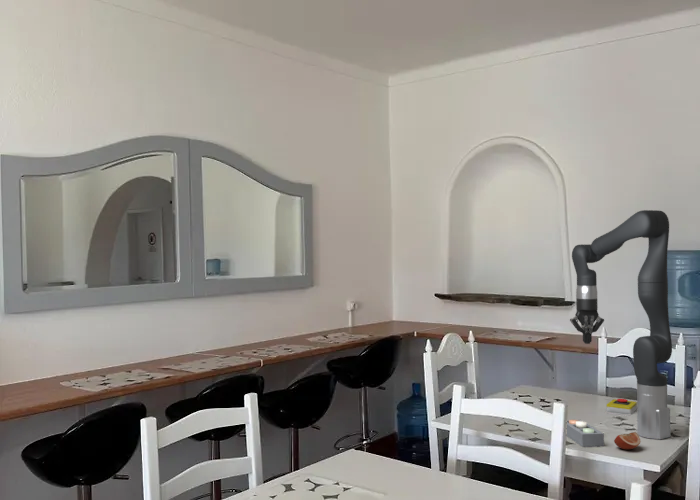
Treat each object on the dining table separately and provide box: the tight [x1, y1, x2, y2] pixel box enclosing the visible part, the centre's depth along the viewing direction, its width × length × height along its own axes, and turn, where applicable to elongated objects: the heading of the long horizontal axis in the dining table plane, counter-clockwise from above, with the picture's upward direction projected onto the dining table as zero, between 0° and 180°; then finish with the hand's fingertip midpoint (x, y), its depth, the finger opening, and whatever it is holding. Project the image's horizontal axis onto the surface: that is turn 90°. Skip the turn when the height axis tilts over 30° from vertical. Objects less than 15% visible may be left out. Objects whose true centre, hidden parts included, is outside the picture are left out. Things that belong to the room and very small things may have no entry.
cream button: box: [576, 420, 588, 429], centre depth 221 cm, size 3×3×2 cm
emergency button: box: [604, 398, 637, 417], centre depth 259 cm, size 9×4×15 cm
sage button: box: [583, 428, 594, 433], centre depth 216 cm, size 3×3×2 cm
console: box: [566, 419, 605, 448], centre depth 221 cm, size 18×7×4 cm, turn 5°
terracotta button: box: [568, 419, 580, 424], centre depth 227 cm, size 3×3×2 cm
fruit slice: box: [613, 431, 642, 450], centre depth 209 cm, size 8×7×5 cm
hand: (587, 343), depth 252 cm, fingers closed
